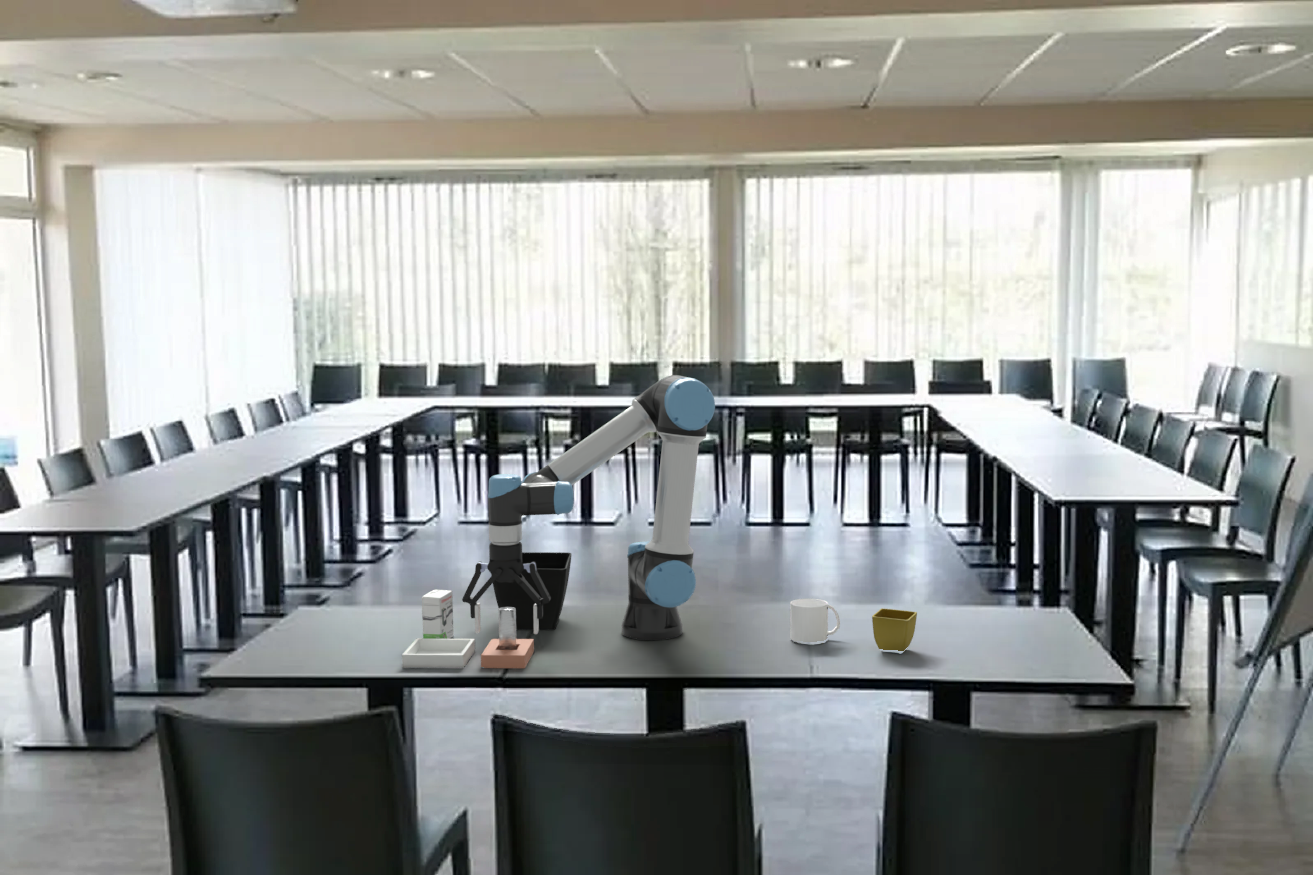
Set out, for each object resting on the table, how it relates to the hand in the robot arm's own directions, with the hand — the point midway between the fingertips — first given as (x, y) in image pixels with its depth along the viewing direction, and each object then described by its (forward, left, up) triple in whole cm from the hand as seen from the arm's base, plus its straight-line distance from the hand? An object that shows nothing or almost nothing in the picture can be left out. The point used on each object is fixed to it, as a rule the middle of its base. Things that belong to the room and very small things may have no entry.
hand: (507, 632), depth 312 cm
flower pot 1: (-1, -33, -7) cm, 33 cm away
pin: (0, 0, -7) cm, 7 cm away
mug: (-72, -19, -7) cm, 75 cm away
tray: (+16, 0, -7) cm, 17 cm away
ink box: (+20, -17, -7) cm, 27 cm away
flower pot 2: (-90, -10, -7) cm, 91 cm away
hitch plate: (0, 0, -7) cm, 7 cm away
